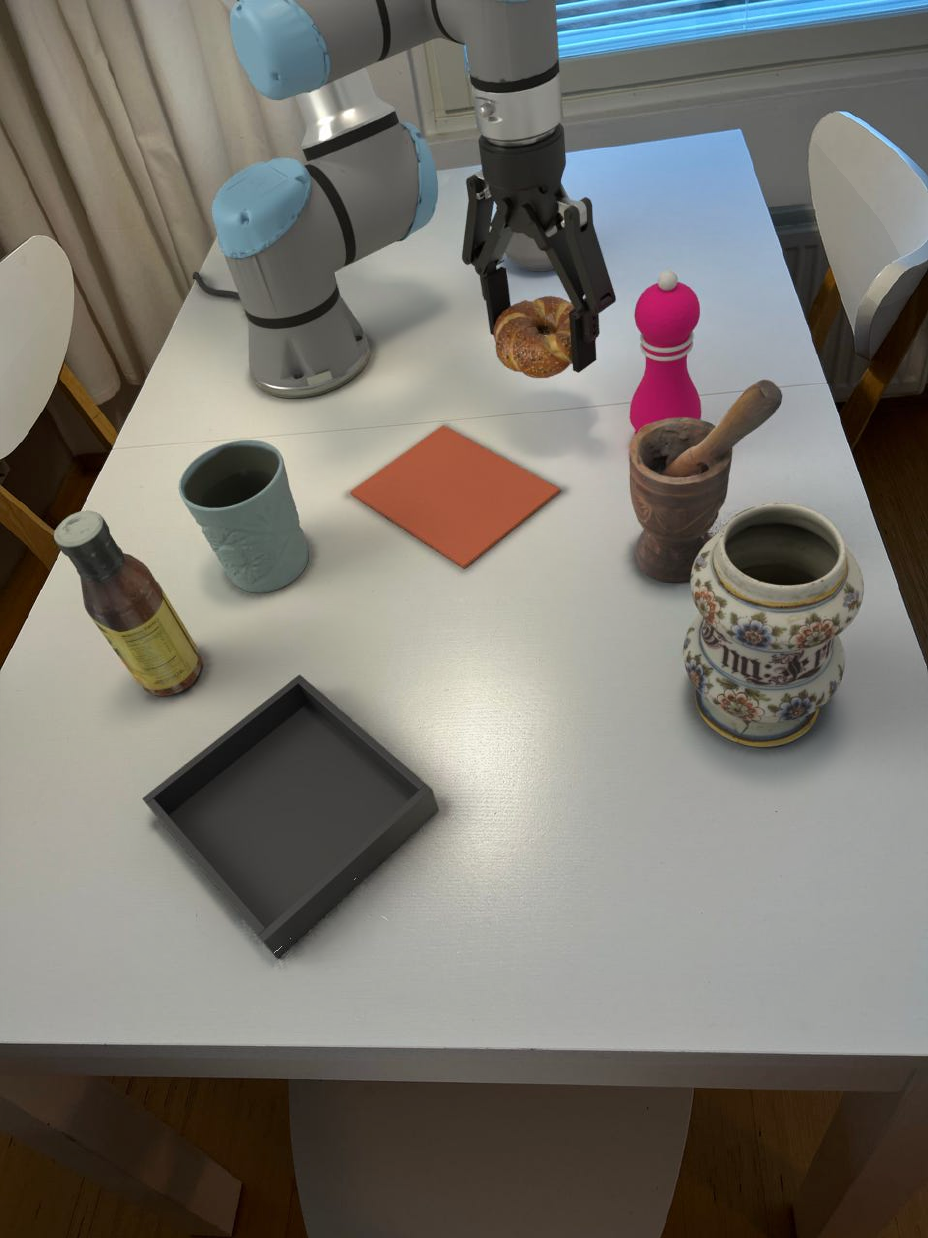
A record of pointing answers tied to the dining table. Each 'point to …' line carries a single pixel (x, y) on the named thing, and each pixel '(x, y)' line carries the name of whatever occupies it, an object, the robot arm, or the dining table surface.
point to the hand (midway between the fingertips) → (541, 346)
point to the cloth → (455, 495)
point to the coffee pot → (529, 251)
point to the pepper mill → (666, 352)
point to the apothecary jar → (770, 622)
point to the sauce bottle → (129, 607)
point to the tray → (291, 811)
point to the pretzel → (535, 337)
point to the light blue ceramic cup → (247, 513)
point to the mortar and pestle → (688, 480)
